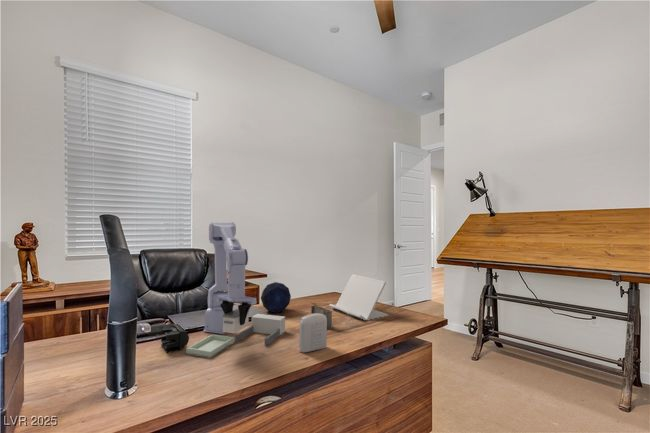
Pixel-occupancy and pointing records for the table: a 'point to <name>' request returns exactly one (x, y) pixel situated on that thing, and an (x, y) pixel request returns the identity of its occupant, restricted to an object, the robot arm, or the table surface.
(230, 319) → the grey rectangular block
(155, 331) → the smart home device
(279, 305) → the decorative orb
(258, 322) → the printer bay
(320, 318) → the photo printer
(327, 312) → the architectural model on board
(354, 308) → the tablet stand
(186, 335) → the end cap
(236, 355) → the table surface
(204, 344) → the tray
